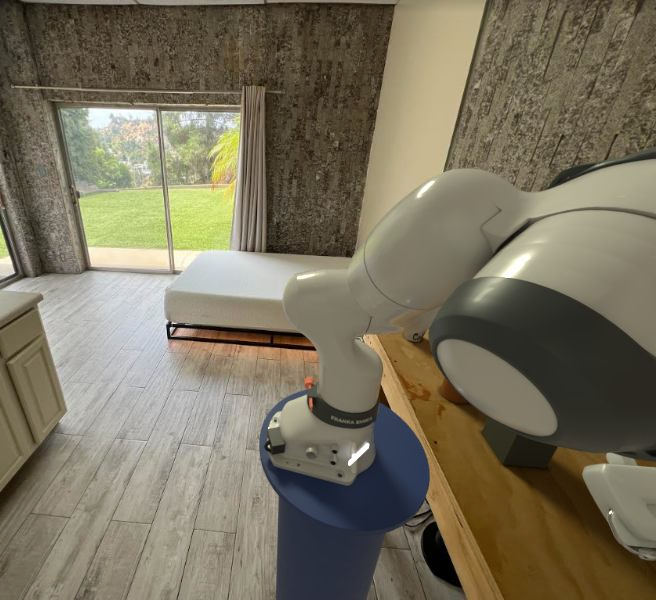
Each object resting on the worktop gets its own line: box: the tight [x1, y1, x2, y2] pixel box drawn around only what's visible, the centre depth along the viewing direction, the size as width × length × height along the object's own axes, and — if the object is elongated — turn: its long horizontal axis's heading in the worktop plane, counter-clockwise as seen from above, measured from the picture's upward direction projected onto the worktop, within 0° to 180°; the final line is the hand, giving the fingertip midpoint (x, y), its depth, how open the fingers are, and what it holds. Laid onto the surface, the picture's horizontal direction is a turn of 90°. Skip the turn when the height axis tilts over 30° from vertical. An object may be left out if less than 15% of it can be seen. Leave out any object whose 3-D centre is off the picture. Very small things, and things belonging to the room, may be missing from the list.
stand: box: [481, 417, 559, 469], centre depth 60 cm, size 12×12×26 cm
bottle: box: [439, 376, 469, 405], centre depth 78 cm, size 6×6×14 cm
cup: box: [403, 329, 428, 343], centre depth 103 cm, size 8×8×10 cm
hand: (653, 430), depth 41 cm, fingers open, 8 cm apart
